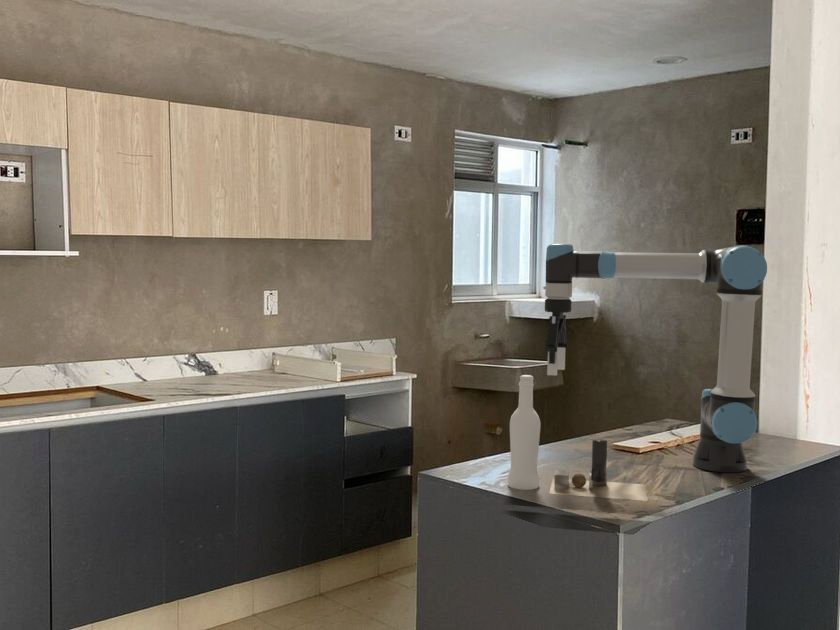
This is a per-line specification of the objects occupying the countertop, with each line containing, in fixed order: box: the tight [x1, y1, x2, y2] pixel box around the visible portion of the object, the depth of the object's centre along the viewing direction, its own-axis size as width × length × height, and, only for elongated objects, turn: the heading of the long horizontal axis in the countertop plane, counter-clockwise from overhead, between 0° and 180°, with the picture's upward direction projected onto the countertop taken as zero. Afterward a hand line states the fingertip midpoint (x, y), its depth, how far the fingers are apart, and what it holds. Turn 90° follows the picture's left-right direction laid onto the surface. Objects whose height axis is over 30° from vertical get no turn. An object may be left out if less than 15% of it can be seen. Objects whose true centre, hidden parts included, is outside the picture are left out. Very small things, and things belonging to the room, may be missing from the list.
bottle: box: [507, 374, 541, 491], centre depth 221 cm, size 8×8×30 cm
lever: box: [588, 438, 608, 488], centre depth 219 cm, size 4×15×14 cm, turn 168°
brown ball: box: [571, 473, 587, 488], centre depth 221 cm, size 4×4×4 cm
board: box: [548, 468, 649, 502], centre depth 220 cm, size 24×16×5 cm, turn 78°
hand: (556, 372), depth 245 cm, fingers open, 13 cm apart
